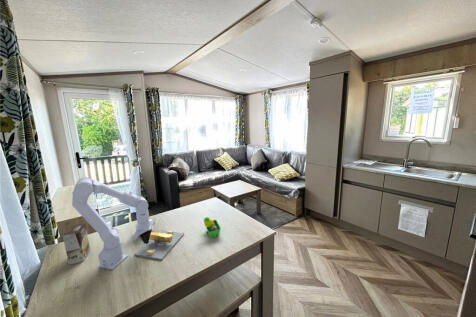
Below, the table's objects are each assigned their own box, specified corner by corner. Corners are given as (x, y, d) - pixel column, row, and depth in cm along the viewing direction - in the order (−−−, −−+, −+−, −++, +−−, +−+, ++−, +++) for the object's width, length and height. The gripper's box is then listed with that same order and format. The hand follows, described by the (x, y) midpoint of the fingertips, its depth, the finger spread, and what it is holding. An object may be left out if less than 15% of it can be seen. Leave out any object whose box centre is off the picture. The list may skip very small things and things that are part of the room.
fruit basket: (221, 236, 112) (220, 219, 110) (206, 240, 109) (205, 222, 107) (216, 226, 123) (215, 210, 120) (202, 229, 119) (201, 213, 117)
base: (161, 260, 94) (161, 256, 94) (134, 255, 98) (134, 251, 97) (184, 234, 115) (183, 231, 114) (161, 231, 119) (160, 228, 118)
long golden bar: (167, 246, 101) (166, 239, 100) (146, 242, 104) (145, 236, 103) (174, 238, 108) (174, 232, 107) (155, 235, 111) (154, 229, 110)
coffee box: (84, 261, 94) (78, 232, 91) (68, 265, 92) (61, 235, 89) (91, 249, 103) (85, 223, 100) (76, 253, 101) (70, 225, 97)
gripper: (139, 228, 92) (143, 253, 94) (158, 214, 105) (161, 235, 108) (127, 226, 93) (131, 251, 96) (147, 212, 107) (150, 234, 110)
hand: (146, 242), depth 102 cm, fingers closed
